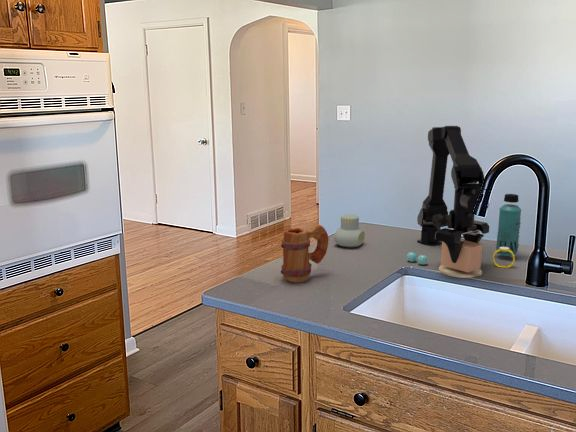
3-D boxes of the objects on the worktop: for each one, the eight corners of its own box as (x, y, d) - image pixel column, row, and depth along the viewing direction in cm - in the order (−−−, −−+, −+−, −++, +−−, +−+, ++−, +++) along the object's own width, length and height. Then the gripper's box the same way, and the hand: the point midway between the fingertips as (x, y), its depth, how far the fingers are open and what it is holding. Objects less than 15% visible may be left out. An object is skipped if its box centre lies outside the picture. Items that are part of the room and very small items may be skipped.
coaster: (454, 262, 175) (454, 260, 175) (490, 271, 166) (490, 270, 166) (430, 270, 168) (430, 268, 168) (466, 281, 159) (466, 279, 159)
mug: (287, 287, 155) (287, 232, 151) (274, 278, 162) (273, 226, 158) (334, 278, 161) (335, 226, 158) (319, 270, 168) (319, 220, 165)
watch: (492, 268, 171) (492, 248, 169) (492, 265, 173) (492, 246, 172) (514, 269, 169) (514, 249, 167) (514, 266, 171) (514, 246, 170)
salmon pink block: (453, 260, 172) (454, 237, 170) (480, 267, 165) (482, 244, 164) (440, 265, 168) (442, 241, 166) (467, 272, 161) (469, 248, 160)
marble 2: (421, 262, 175) (421, 252, 175) (429, 264, 173) (430, 255, 172) (415, 264, 173) (415, 254, 173) (423, 266, 171) (423, 257, 171)
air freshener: (355, 251, 188) (356, 221, 185) (331, 248, 191) (332, 218, 189) (366, 242, 197) (367, 214, 195) (343, 240, 201) (343, 211, 198)
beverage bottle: (494, 259, 178) (499, 195, 173) (495, 253, 184) (500, 191, 179) (517, 262, 175) (523, 197, 171) (517, 256, 181) (523, 193, 177)
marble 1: (410, 259, 178) (411, 250, 178) (418, 261, 176) (419, 252, 175) (404, 261, 176) (404, 251, 176) (412, 263, 174) (412, 254, 173)
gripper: (458, 198, 175) (455, 248, 178) (420, 207, 163) (417, 260, 166) (492, 204, 166) (488, 256, 170) (454, 214, 155) (451, 269, 158)
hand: (460, 260), depth 166 cm, fingers closed on salmon pink block, 6 cm apart
